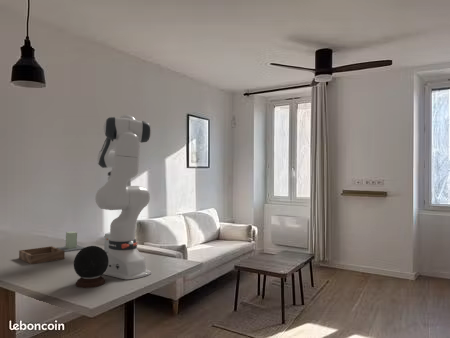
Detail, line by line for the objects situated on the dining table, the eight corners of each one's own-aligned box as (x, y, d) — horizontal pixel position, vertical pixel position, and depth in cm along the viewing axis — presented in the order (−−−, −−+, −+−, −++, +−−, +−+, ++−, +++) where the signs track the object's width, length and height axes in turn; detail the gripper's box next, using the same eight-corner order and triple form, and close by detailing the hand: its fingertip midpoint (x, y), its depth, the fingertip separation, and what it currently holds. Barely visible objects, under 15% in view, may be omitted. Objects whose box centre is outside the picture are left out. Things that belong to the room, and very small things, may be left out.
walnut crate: (64, 258, 176) (64, 250, 176) (30, 264, 164) (31, 255, 164) (51, 253, 186) (51, 246, 186) (19, 258, 174) (19, 250, 174)
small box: (121, 250, 198) (122, 232, 198) (117, 252, 192) (118, 234, 192) (108, 250, 198) (108, 232, 199) (103, 252, 193) (104, 233, 193)
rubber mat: (85, 248, 200) (85, 247, 200) (65, 251, 191) (65, 250, 191) (76, 245, 208) (76, 244, 208) (56, 248, 199) (56, 247, 199)
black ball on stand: (111, 278, 144) (113, 243, 144) (102, 288, 131) (103, 249, 131) (80, 278, 143) (81, 242, 144) (67, 288, 130) (68, 249, 131)
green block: (76, 247, 199) (77, 232, 200) (68, 248, 196) (69, 233, 196) (73, 246, 202) (73, 231, 203) (65, 247, 199) (66, 232, 199)
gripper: (133, 173, 202) (133, 197, 201) (115, 173, 215) (114, 195, 215) (124, 173, 197) (123, 197, 197) (106, 173, 211) (105, 195, 210)
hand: (118, 196), depth 206 cm, fingers open, 8 cm apart
